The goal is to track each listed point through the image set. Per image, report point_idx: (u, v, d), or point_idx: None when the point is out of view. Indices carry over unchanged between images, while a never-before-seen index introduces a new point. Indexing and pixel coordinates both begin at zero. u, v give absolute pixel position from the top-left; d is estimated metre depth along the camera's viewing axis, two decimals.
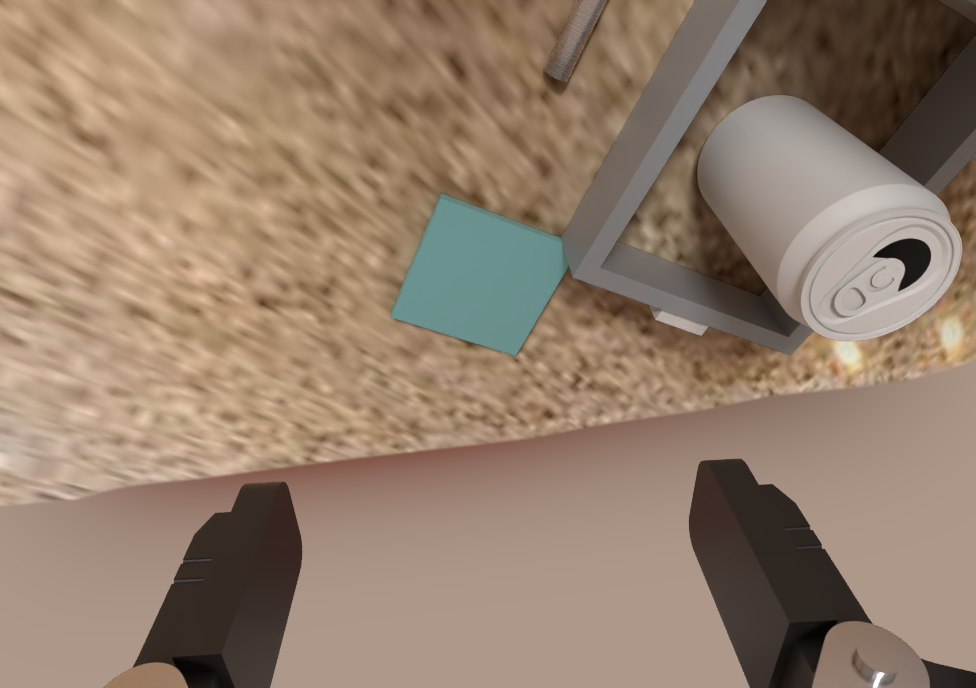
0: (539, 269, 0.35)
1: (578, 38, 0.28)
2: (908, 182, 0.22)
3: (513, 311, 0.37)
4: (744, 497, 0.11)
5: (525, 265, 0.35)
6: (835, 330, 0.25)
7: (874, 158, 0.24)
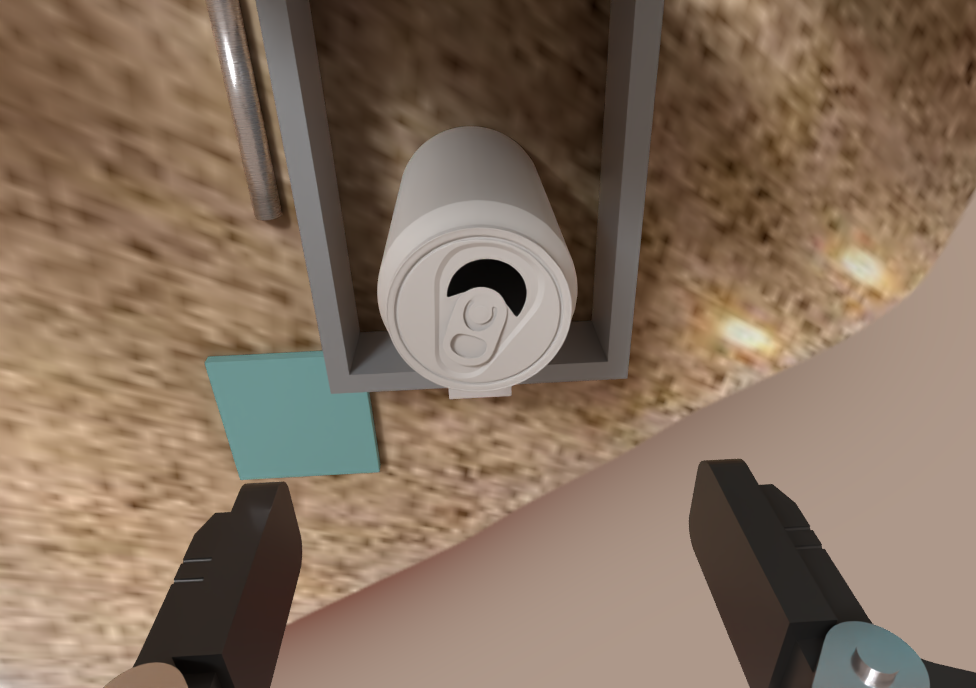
0: None
1: None
2: (451, 201, 0.19)
3: (345, 433, 0.35)
4: (744, 497, 0.11)
5: (323, 388, 0.34)
6: (488, 380, 0.21)
7: (449, 180, 0.21)
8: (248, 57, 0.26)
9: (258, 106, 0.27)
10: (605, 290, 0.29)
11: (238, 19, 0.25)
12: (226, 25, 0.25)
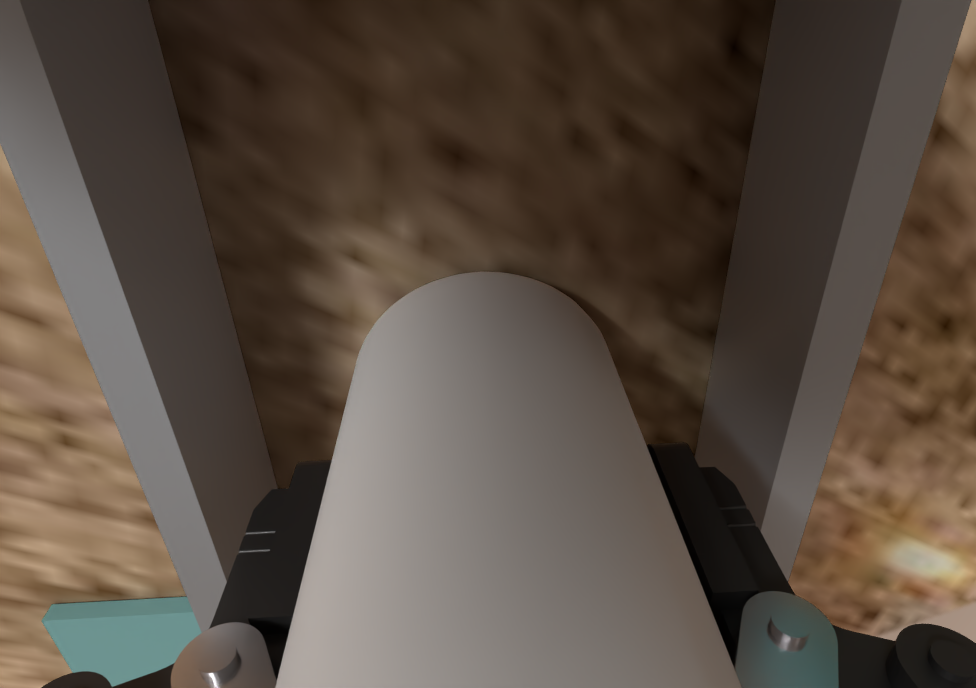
0: None
1: None
2: None
3: None
4: (683, 478, 0.11)
5: None
6: None
7: (439, 531, 0.08)
8: None
9: None
10: None
11: None
12: None
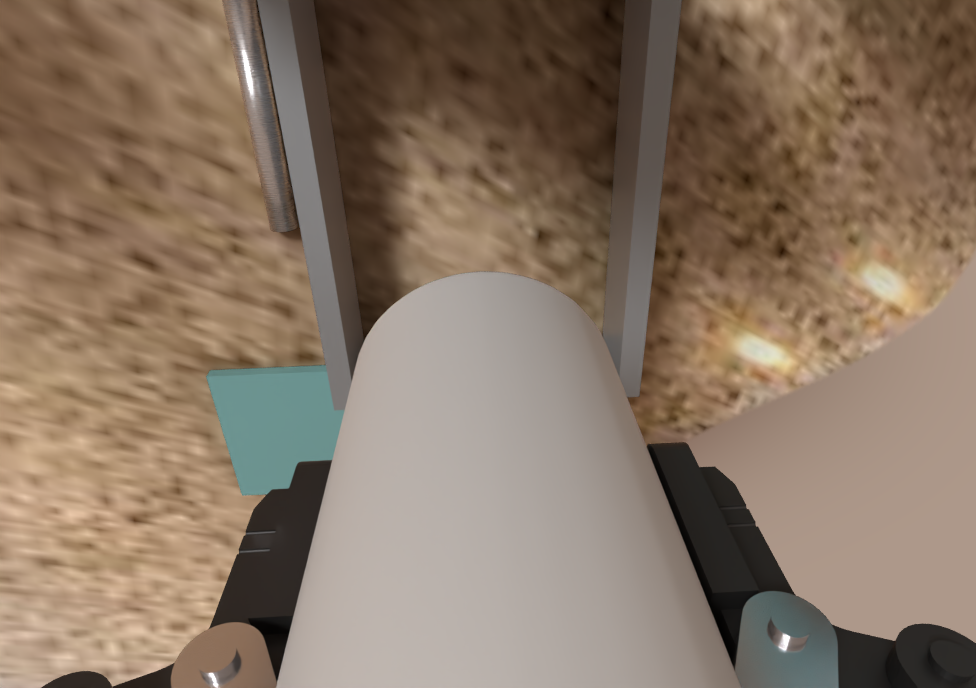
0: None
1: (282, 188, 0.27)
2: None
3: None
4: (683, 478, 0.11)
5: (327, 403, 0.33)
6: None
7: (439, 530, 0.08)
8: None
9: None
10: (617, 306, 0.29)
11: None
12: None
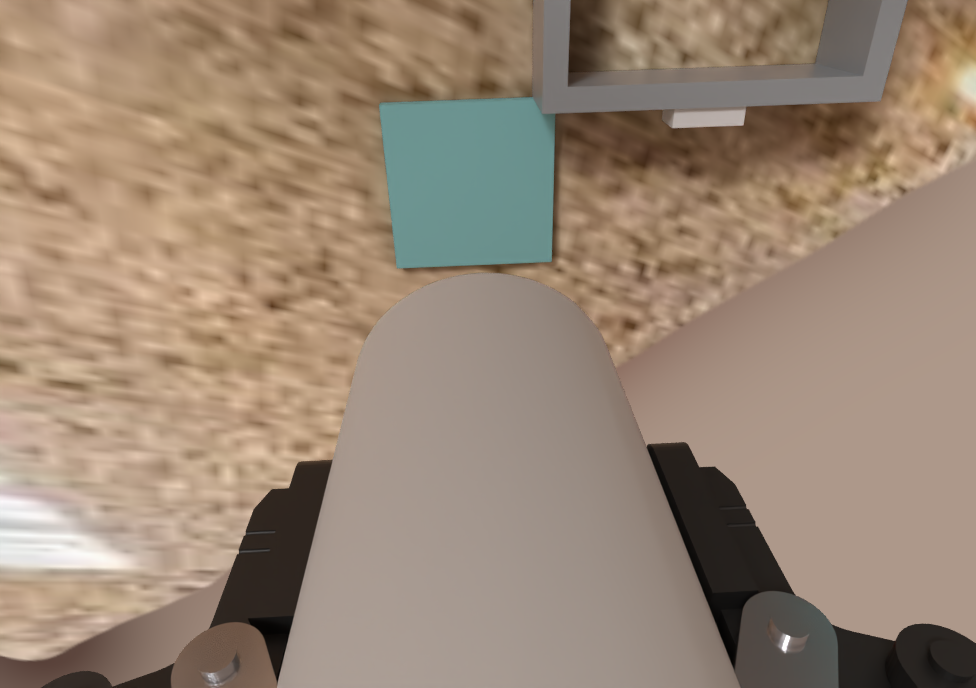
0: (523, 142, 0.30)
1: None
2: None
3: (521, 207, 0.31)
4: (683, 478, 0.11)
5: (506, 144, 0.30)
6: None
7: (439, 533, 0.08)
8: None
9: None
10: None
11: None
12: None
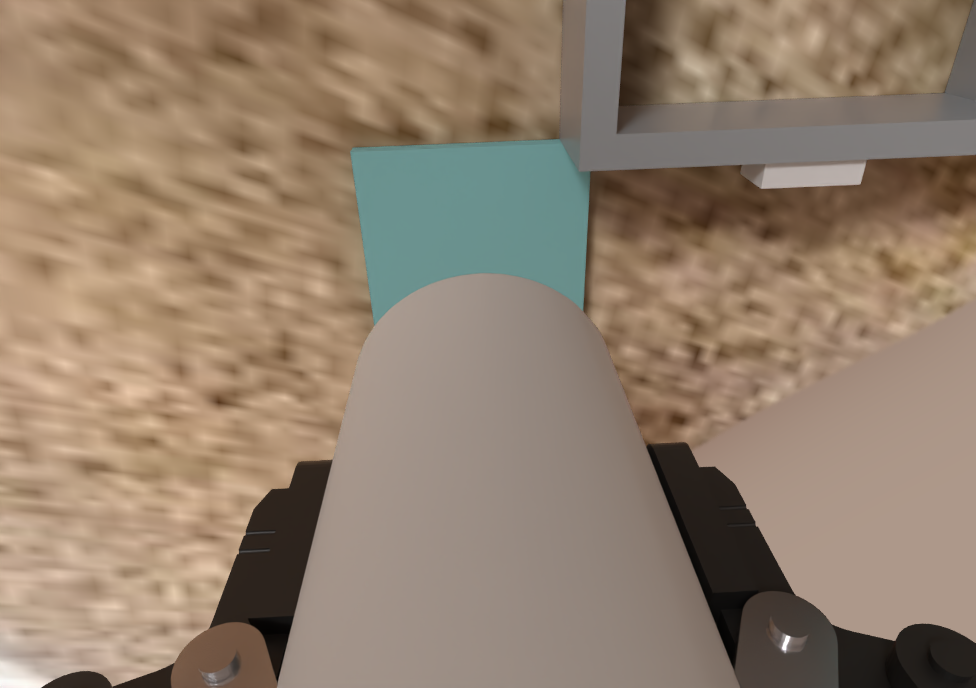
0: (547, 199, 0.22)
1: None
2: None
3: (543, 281, 0.24)
4: (683, 478, 0.11)
5: (523, 202, 0.22)
6: None
7: (439, 533, 0.08)
8: None
9: None
10: None
11: None
12: None
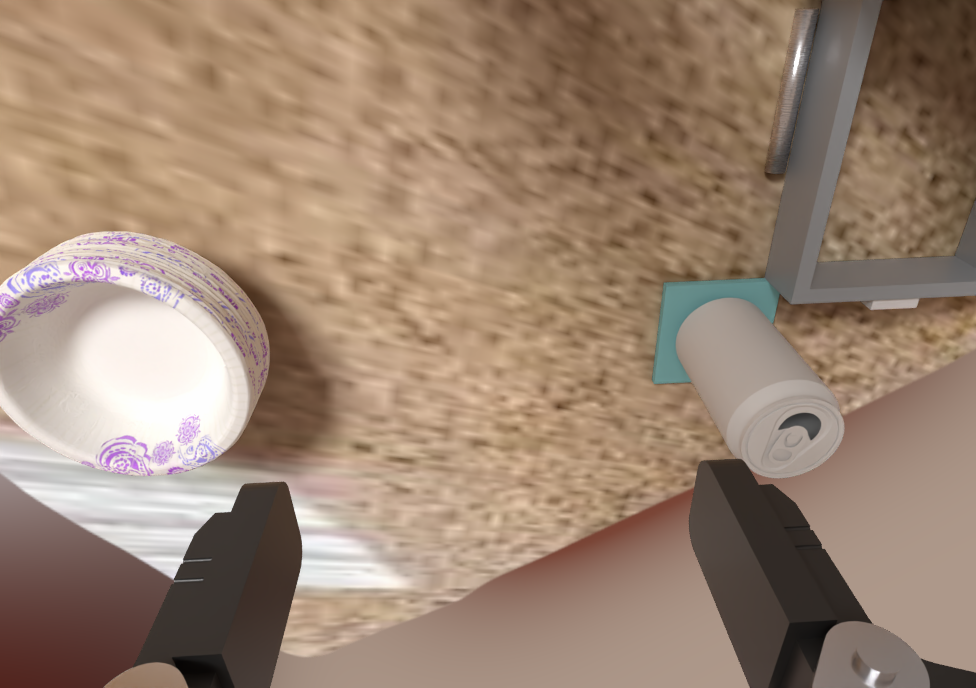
0: None
1: None
2: (782, 378, 0.35)
3: None
4: (744, 497, 0.11)
5: None
6: (784, 472, 0.37)
7: (764, 357, 0.37)
8: (803, 56, 0.36)
9: (796, 92, 0.37)
10: None
11: (806, 29, 0.35)
12: (795, 32, 0.36)
